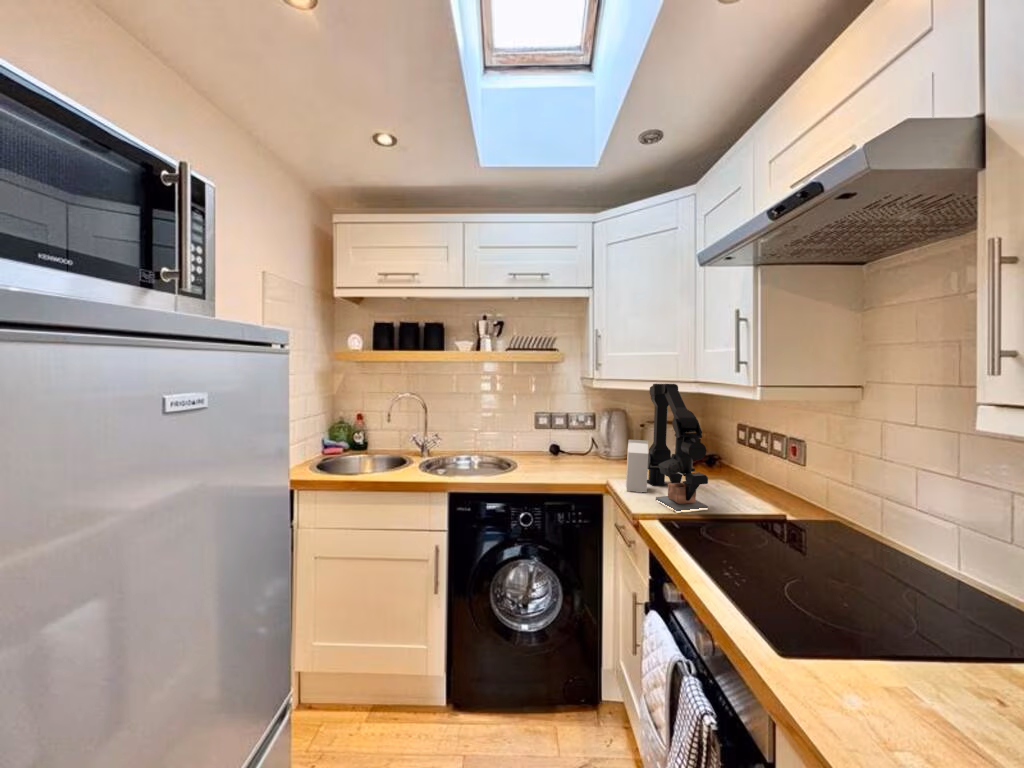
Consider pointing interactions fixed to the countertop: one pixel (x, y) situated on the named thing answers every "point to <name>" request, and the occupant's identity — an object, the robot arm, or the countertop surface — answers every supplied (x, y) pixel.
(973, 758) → the countertop surface
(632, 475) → the milk carton
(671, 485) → the collar
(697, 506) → the key base
